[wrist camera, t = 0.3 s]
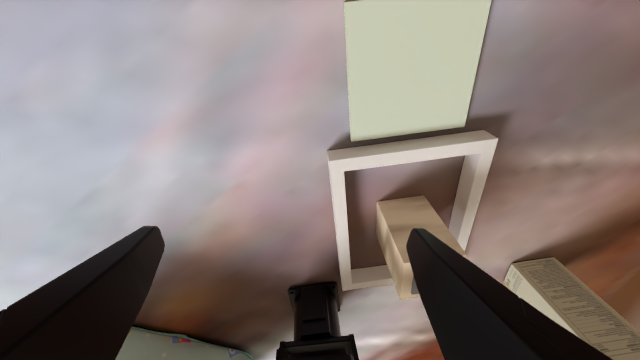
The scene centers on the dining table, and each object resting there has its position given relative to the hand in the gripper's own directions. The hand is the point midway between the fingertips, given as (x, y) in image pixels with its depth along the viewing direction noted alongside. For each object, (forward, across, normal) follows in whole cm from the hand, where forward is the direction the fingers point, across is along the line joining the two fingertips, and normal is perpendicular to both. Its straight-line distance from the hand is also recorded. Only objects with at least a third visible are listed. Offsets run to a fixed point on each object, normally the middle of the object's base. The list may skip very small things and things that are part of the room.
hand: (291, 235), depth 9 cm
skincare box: (+14, -33, +20) cm, 41 cm away
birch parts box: (+14, -12, +11) cm, 21 cm away
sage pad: (+14, -9, -4) cm, 17 cm away
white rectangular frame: (+14, -12, +11) cm, 21 cm away
